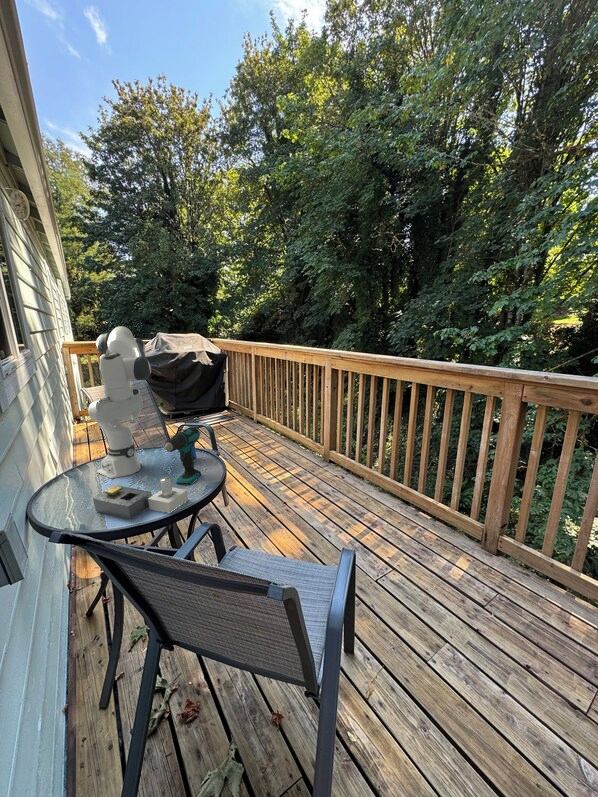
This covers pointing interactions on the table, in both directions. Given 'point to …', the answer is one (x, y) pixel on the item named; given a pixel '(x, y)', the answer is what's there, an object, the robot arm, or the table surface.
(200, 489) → the table surface
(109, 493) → the wooden tenon block
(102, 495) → the socket block
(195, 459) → the blue upright block
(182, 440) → the power drill
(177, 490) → the cream square open frame
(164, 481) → the metal cylinder
